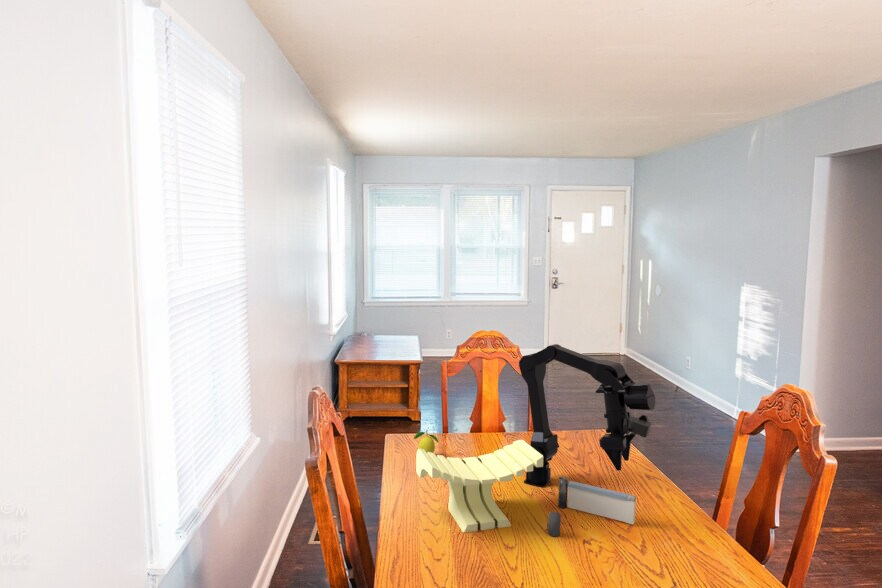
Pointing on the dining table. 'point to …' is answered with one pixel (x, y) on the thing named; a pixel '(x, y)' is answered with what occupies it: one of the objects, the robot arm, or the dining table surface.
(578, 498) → the gate
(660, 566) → the dining table surface
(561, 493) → the gate post
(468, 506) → the slatted curved stool
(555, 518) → the gate stop
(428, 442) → the lemon
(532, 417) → the robot arm
